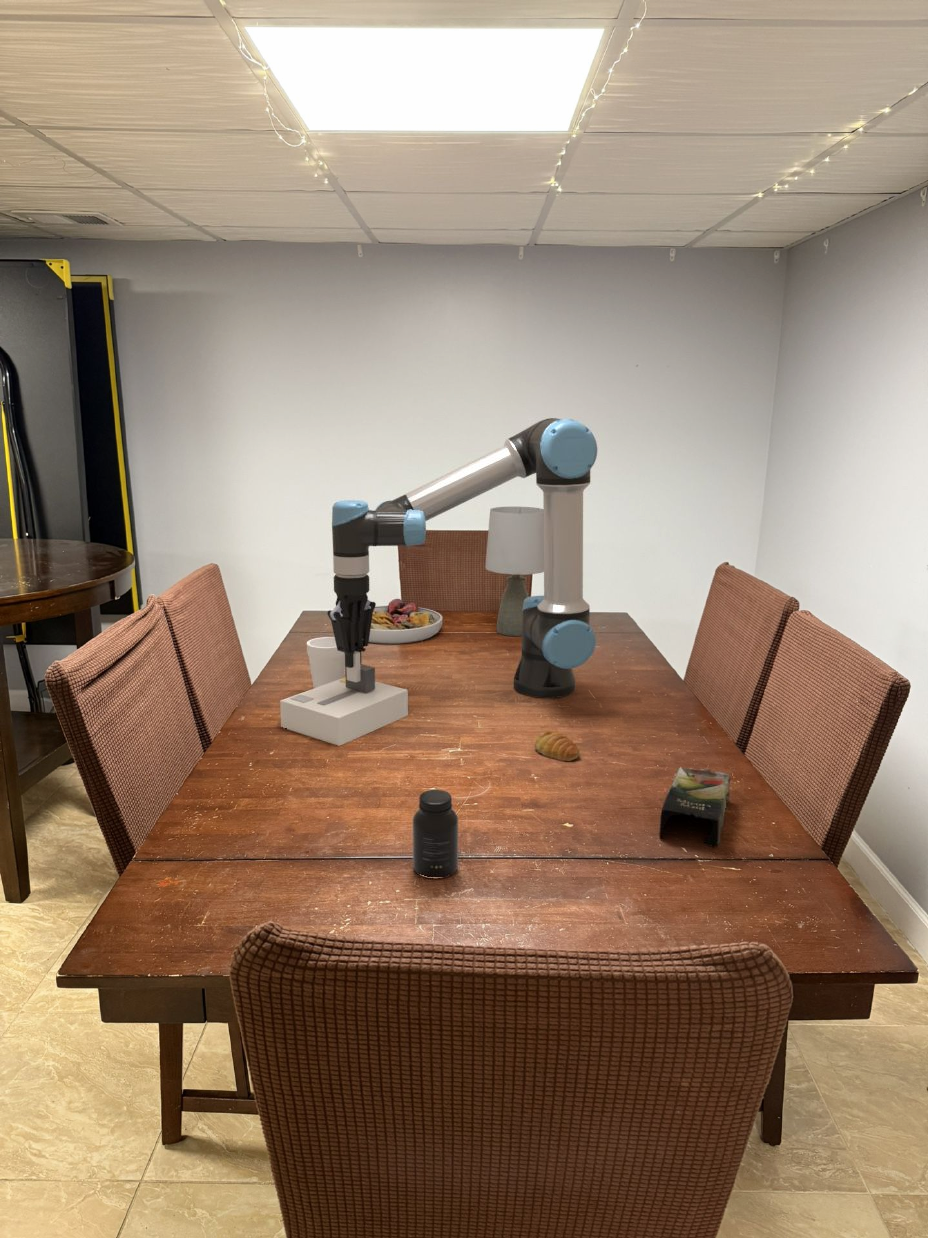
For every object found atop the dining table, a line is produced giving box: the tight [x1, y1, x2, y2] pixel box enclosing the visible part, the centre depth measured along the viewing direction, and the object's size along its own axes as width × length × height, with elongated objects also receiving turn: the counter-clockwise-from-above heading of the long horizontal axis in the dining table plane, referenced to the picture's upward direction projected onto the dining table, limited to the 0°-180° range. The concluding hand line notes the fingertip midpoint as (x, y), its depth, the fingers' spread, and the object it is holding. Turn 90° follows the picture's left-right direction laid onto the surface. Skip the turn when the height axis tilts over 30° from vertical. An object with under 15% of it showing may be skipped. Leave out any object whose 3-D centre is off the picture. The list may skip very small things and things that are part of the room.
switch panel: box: [279, 677, 409, 747], centre depth 191 cm, size 17×22×6 cm
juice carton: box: [658, 766, 731, 848], centre depth 149 cm, size 20×10×6 cm, turn 159°
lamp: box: [484, 506, 544, 637], centre depth 261 cm, size 19×19×37 cm
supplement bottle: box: [412, 789, 459, 878], centre depth 131 cm, size 7×7×12 cm
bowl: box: [363, 598, 443, 645], centre depth 263 cm, size 30×30×8 cm
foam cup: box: [306, 636, 345, 689], centre depth 206 cm, size 10×9×13 cm
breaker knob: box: [344, 663, 376, 693], centre depth 193 cm, size 6×3×5 cm, turn 54°
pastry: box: [534, 730, 580, 762], centre depth 176 cm, size 9×7×4 cm
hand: (353, 680), depth 192 cm, fingers closed
